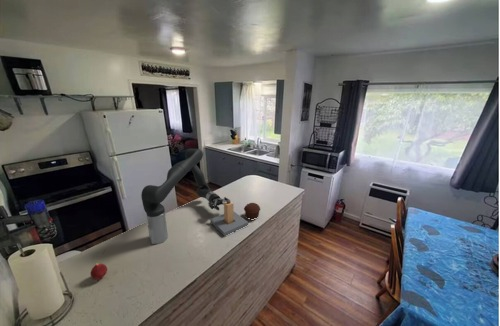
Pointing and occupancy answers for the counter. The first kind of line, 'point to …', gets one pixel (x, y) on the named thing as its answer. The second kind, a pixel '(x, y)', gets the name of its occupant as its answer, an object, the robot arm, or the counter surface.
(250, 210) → the muffin
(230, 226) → the socket
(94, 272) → the onion
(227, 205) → the plug
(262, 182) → the counter surface
